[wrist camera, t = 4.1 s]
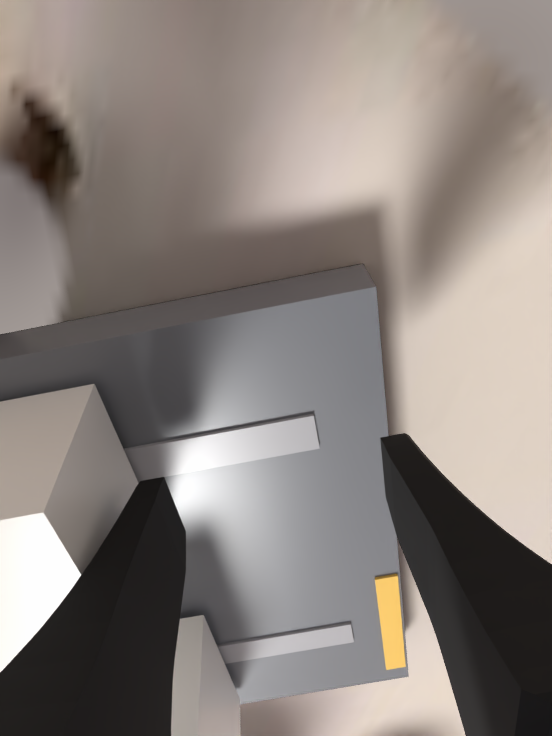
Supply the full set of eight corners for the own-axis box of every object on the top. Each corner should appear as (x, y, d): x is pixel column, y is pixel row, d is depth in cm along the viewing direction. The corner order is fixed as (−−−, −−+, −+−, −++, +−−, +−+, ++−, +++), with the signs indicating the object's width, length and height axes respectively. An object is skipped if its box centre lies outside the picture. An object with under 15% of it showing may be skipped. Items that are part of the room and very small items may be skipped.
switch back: (203, 614, 18) (196, 752, 15) (240, 699, 22) (241, 828, 18) (92, 634, 19) (59, 774, 15) (145, 715, 22) (128, 847, 18)
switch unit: (363, 263, 14) (377, 288, 13) (399, 641, 24) (409, 679, 22) (-76, 349, 14) (-108, 382, 13) (135, 686, 24) (130, 725, 23)
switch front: (94, 383, 13) (43, 512, 10) (164, 541, 16) (145, 681, 13) (-60, 413, 13) (-167, 550, 10) (39, 563, 17) (-14, 708, 13)
